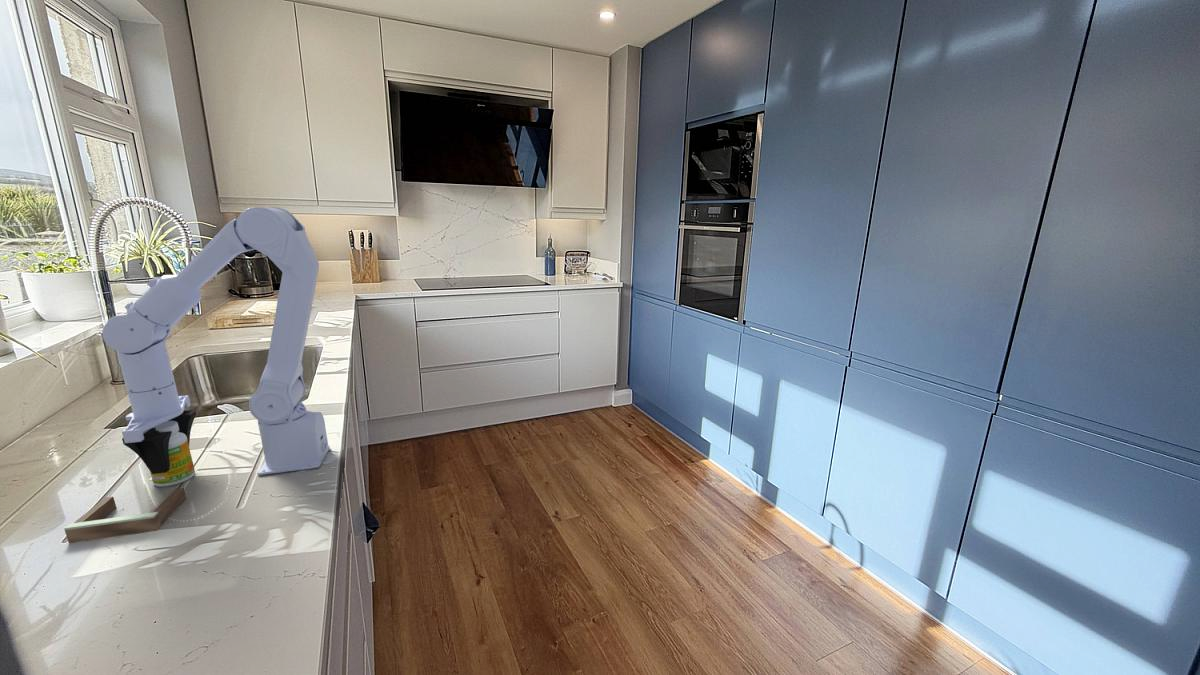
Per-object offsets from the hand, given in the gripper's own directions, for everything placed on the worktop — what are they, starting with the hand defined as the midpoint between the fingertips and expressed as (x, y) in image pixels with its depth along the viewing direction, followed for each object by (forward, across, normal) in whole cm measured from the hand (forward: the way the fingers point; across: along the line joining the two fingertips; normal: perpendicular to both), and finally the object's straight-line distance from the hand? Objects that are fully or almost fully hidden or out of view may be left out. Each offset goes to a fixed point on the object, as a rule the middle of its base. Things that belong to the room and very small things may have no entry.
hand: (171, 463), depth 81 cm
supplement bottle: (+3, 0, 0) cm, 3 cm away
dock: (+3, +11, 0) cm, 11 cm away
